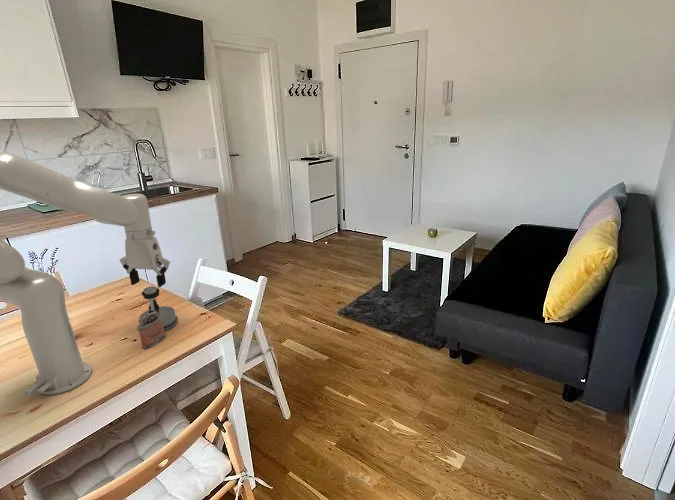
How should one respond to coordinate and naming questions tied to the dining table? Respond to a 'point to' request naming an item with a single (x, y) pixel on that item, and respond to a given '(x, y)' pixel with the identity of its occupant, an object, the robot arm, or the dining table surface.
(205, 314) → the dining table surface
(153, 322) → the lighter
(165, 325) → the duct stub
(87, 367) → the robot arm
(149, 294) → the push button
